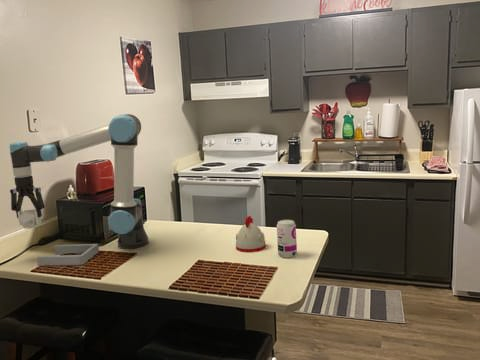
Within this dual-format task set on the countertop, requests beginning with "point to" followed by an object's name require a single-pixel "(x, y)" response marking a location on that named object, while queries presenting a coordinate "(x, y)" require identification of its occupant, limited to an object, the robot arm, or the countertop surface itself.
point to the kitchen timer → (250, 238)
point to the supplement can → (286, 238)
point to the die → (28, 218)
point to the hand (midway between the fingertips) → (30, 224)
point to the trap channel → (85, 254)
